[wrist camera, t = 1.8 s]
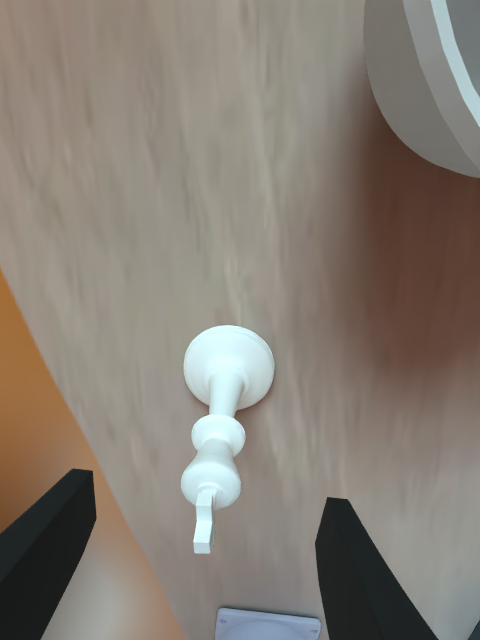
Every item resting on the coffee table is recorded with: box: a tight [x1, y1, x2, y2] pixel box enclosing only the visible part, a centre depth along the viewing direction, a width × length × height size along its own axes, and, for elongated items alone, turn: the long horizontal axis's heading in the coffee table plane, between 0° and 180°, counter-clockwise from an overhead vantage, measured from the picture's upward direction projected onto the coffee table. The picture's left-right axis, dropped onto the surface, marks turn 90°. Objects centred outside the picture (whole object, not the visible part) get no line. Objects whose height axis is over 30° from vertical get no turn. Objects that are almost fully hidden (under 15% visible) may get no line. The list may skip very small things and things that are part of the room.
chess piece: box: [181, 325, 275, 554], centre depth 14 cm, size 5×5×10 cm
